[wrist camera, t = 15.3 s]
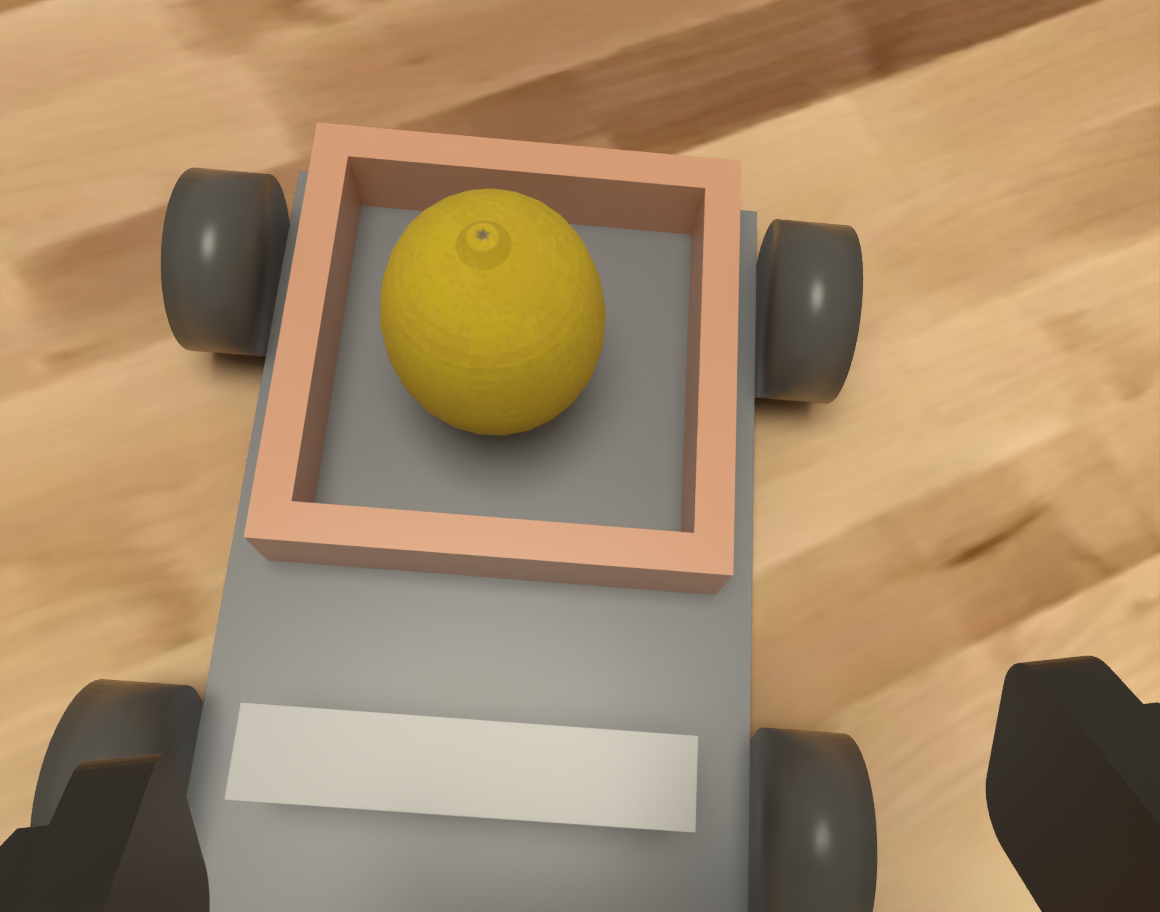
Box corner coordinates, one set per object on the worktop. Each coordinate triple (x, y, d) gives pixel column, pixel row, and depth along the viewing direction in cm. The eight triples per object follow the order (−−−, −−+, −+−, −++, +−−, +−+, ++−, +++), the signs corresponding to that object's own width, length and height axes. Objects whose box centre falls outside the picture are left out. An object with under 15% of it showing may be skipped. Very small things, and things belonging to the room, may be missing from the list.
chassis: (88, 960, 25) (-17, 998, 20) (242, 187, 32) (193, 77, 27) (815, 1008, 26) (885, 1055, 21) (810, 237, 33) (862, 138, 28)
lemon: (637, 357, 30) (662, 206, 22) (526, 510, 28) (512, 404, 21) (481, 260, 31) (453, 82, 23) (365, 403, 29) (296, 264, 22)
